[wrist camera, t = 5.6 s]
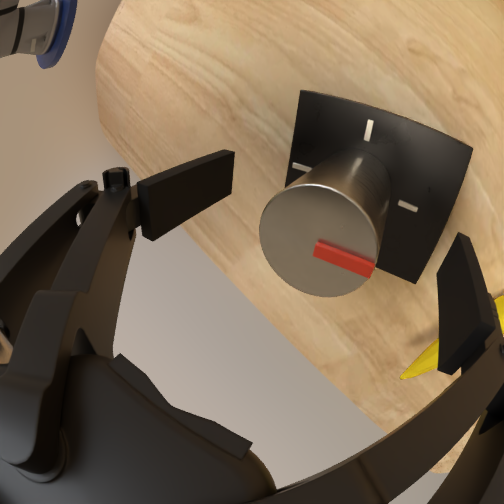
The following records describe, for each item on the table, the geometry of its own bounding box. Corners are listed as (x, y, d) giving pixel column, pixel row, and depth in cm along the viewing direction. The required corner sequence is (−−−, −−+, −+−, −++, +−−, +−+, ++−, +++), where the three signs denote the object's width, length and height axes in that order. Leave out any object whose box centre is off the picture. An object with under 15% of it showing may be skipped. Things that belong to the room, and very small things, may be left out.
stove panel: (289, 216, 24) (276, 228, 22) (311, 91, 17) (299, 89, 15) (416, 267, 20) (415, 286, 18) (465, 143, 13) (474, 148, 11)
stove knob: (314, 205, 19) (249, 274, 13) (327, 139, 17) (261, 169, 10) (378, 229, 18) (351, 318, 11) (399, 162, 15) (396, 214, 8)
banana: (400, 331, 23) (390, 382, 19) (563, 251, 10) (590, 295, 6) (411, 349, 24) (402, 399, 19) (565, 276, 11) (588, 322, 6)
